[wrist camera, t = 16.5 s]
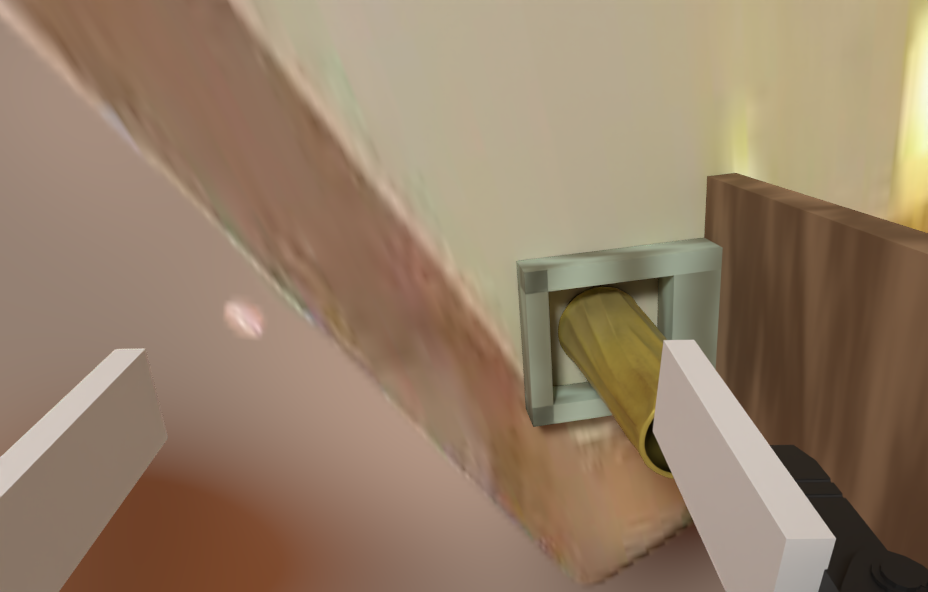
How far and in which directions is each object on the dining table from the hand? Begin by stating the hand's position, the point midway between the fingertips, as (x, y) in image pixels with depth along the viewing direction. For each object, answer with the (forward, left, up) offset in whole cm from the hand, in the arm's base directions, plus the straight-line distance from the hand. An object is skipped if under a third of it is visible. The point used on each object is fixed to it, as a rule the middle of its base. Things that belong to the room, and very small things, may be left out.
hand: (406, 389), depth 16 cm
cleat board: (-11, +16, -26) cm, 32 cm away
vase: (-9, +15, -26) cm, 31 cm away
